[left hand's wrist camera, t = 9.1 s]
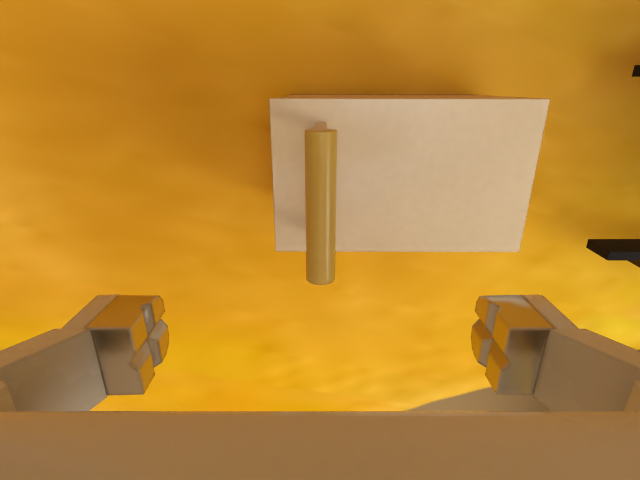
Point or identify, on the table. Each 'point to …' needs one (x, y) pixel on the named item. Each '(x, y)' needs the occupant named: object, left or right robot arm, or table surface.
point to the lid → (401, 175)
